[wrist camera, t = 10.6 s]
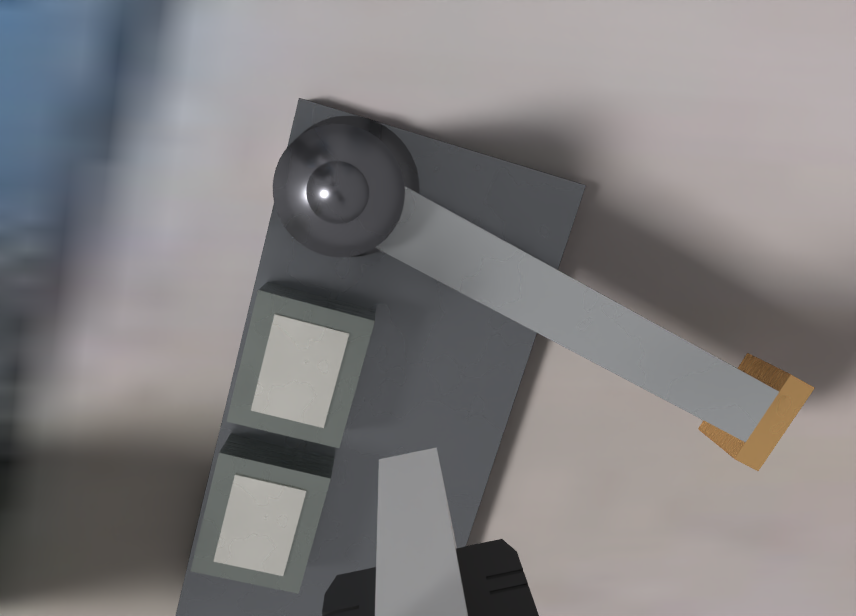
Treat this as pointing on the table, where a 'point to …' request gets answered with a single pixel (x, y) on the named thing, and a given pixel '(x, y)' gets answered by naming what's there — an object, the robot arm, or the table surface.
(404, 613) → the robot arm
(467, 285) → the swing arm
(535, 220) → the tray
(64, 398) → the table surface
